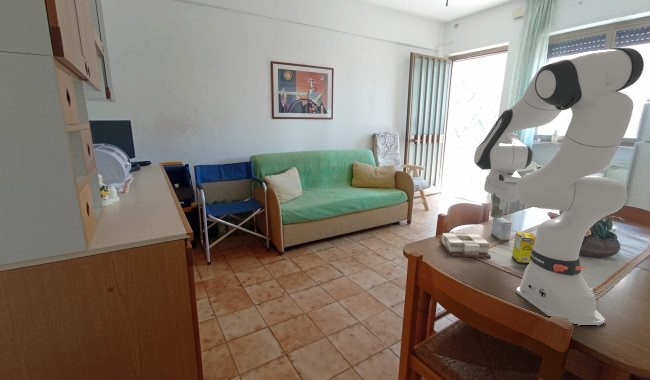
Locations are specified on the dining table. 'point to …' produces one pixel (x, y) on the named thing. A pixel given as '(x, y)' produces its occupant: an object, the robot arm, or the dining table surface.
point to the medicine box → (501, 228)
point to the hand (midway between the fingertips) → (497, 207)
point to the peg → (496, 208)
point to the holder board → (465, 244)
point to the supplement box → (523, 247)
